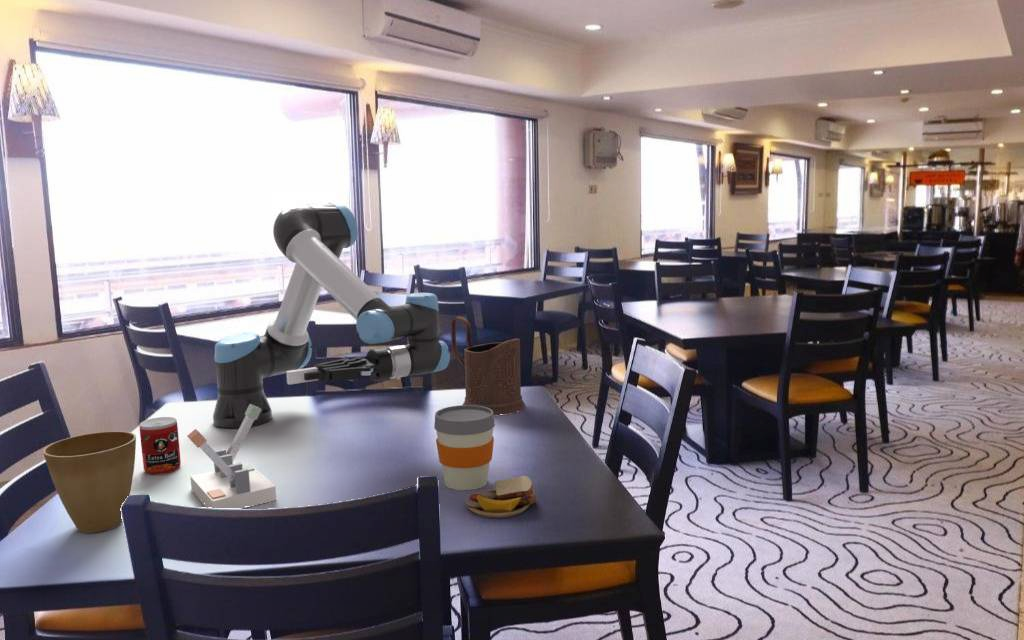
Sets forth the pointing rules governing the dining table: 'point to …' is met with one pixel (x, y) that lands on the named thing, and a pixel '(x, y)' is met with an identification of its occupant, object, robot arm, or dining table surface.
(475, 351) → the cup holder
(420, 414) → the dining table surface
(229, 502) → the console
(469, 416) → the reusable coffee cup
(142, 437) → the canned food
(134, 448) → the plant pot
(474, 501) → the toy sandwich meal
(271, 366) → the robot arm
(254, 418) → the lever
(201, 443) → the lever
